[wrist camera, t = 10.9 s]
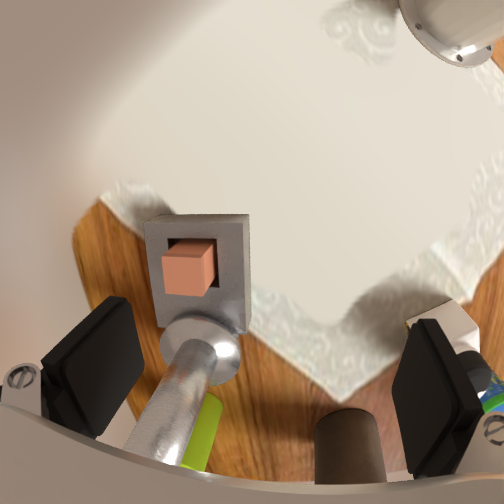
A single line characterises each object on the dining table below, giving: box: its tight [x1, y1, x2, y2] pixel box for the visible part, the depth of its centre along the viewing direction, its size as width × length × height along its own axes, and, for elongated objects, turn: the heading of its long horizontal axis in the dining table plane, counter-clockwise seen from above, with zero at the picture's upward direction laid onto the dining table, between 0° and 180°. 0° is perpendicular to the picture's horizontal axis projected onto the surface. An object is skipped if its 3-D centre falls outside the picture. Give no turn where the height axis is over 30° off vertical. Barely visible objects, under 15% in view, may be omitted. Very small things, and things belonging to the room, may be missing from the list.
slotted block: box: [122, 214, 251, 466], centre depth 25 cm, size 18×10×22 cm, turn 1°
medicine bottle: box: [405, 300, 492, 398], centre depth 28 cm, size 7×7×12 cm
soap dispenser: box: [179, 392, 223, 472], centre depth 32 cm, size 6×7×20 cm
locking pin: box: [161, 238, 219, 297], centre depth 30 cm, size 4×4×8 cm
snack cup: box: [479, 370, 504, 414], centre depth 30 cm, size 16×10×10 cm
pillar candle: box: [314, 409, 387, 485], centre depth 33 cm, size 10×10×15 cm
